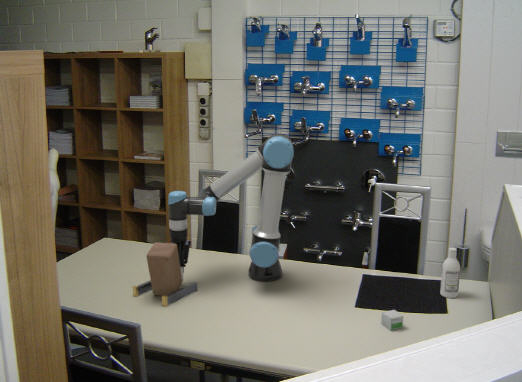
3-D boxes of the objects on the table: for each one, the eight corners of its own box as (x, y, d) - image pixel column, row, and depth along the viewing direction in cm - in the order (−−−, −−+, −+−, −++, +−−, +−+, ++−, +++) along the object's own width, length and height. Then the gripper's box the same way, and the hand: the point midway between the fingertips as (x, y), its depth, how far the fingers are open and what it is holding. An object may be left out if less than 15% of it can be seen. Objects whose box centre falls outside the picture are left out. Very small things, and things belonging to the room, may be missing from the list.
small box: (390, 331, 193) (390, 318, 192) (380, 324, 199) (381, 311, 197) (403, 328, 196) (404, 315, 194) (393, 321, 201) (394, 309, 200)
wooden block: (175, 297, 221) (169, 256, 212) (152, 295, 223) (145, 255, 214) (183, 282, 230) (177, 242, 220) (161, 280, 232) (154, 241, 222)
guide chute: (197, 290, 228) (197, 281, 227) (165, 306, 213) (165, 297, 212) (166, 280, 238) (165, 272, 237) (133, 295, 223) (132, 286, 222)
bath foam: (461, 297, 221) (465, 250, 217) (447, 299, 219) (451, 252, 214) (450, 290, 228) (454, 245, 223) (436, 293, 225) (440, 247, 221)
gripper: (182, 223, 234) (184, 274, 240) (160, 230, 224) (162, 284, 229) (195, 226, 230) (196, 278, 235) (173, 233, 220) (175, 288, 225)
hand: (179, 281), depth 232 cm, fingers closed
